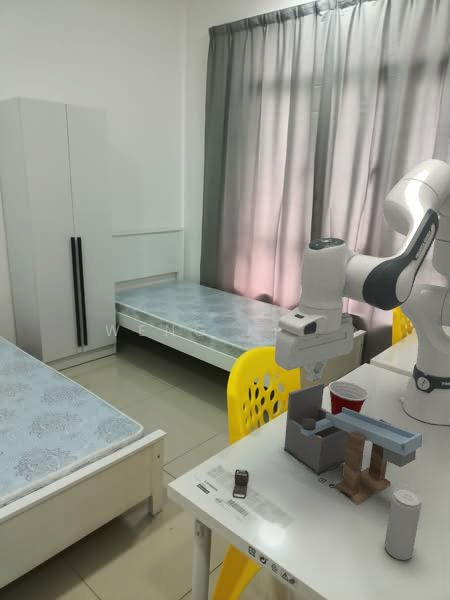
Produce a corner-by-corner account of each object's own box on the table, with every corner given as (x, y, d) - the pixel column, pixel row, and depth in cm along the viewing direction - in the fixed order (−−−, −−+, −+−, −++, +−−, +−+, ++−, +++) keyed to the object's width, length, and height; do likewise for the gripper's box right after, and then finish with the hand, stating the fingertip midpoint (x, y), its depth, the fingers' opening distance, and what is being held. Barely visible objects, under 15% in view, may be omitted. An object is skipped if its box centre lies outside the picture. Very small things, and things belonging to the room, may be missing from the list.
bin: (316, 436, 115) (321, 382, 110) (350, 459, 105) (358, 400, 101) (284, 450, 108) (288, 392, 104) (317, 475, 99) (324, 413, 95)
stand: (367, 470, 101) (375, 416, 98) (389, 485, 96) (398, 428, 93) (335, 488, 95) (342, 430, 91) (357, 504, 90) (365, 444, 86)
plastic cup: (366, 440, 113) (371, 400, 110) (324, 435, 115) (329, 395, 112) (361, 420, 124) (366, 382, 121) (323, 415, 126) (327, 377, 123)
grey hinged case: (236, 473, 99) (237, 457, 98) (249, 474, 99) (250, 459, 98) (231, 498, 91) (232, 481, 90) (245, 500, 91) (246, 483, 90)
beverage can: (389, 536, 82) (398, 483, 79) (415, 550, 79) (425, 495, 76) (380, 552, 78) (389, 496, 75) (407, 566, 76) (417, 510, 72)
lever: (341, 427, 103) (341, 404, 102) (421, 460, 86) (422, 433, 85) (299, 444, 95) (299, 420, 94) (378, 485, 78) (378, 456, 78)
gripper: (341, 307, 96) (335, 364, 99) (272, 320, 85) (268, 384, 88) (364, 314, 91) (356, 374, 94) (294, 329, 80) (288, 396, 83)
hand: (313, 379), depth 91 cm, fingers closed
